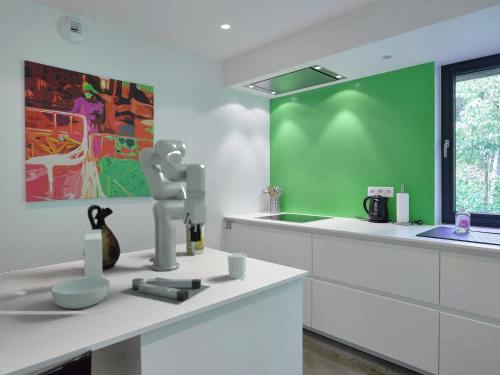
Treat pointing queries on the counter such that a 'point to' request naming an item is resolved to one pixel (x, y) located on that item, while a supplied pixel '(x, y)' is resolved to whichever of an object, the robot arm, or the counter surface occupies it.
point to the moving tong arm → (168, 283)
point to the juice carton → (194, 243)
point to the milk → (93, 253)
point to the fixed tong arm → (164, 291)
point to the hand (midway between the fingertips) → (195, 240)
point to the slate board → (161, 298)
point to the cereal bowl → (80, 292)
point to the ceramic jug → (105, 236)
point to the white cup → (237, 265)
